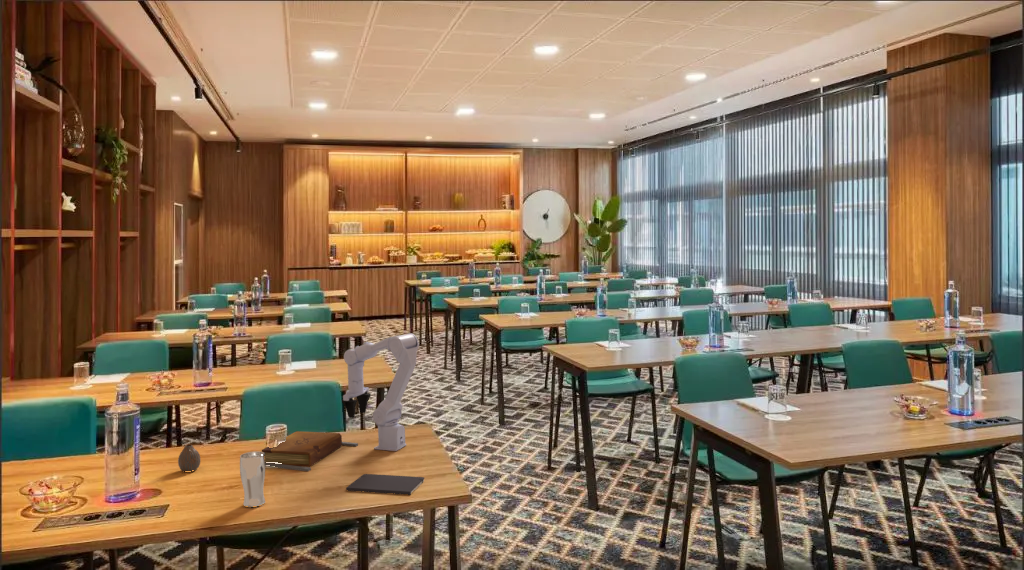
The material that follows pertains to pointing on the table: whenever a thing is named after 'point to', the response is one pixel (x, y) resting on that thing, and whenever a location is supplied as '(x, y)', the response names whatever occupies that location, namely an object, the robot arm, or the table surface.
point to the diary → (303, 448)
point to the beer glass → (253, 477)
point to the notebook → (386, 484)
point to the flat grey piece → (301, 466)
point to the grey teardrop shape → (189, 459)
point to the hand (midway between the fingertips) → (357, 415)
